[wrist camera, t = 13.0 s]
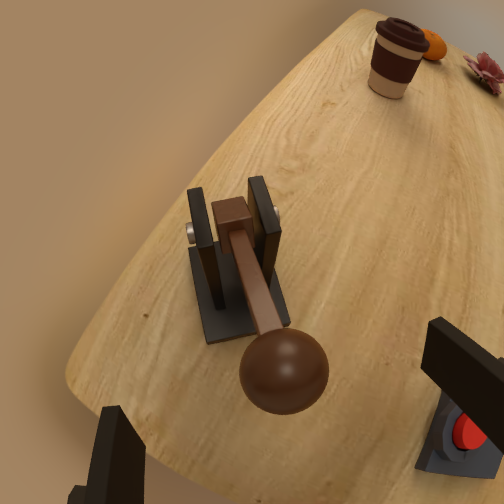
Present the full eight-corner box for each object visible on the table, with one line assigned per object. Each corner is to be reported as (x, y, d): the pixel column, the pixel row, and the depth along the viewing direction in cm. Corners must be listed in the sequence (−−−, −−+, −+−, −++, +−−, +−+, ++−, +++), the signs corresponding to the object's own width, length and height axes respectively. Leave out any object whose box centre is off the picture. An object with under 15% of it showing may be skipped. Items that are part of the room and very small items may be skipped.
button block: (407, 466, 22) (426, 472, 19) (438, 379, 26) (459, 375, 23) (483, 477, 20) (504, 480, 16) (506, 402, 24) (528, 398, 21)
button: (446, 445, 20) (457, 446, 18) (459, 407, 22) (470, 406, 20) (472, 450, 19) (483, 451, 18) (483, 414, 21) (494, 413, 19)
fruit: (408, 54, 59) (416, 30, 52) (406, 42, 64) (413, 20, 57) (443, 70, 58) (453, 47, 51) (438, 56, 62) (446, 35, 55)
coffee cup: (353, 86, 48) (372, 17, 35) (369, 70, 52) (386, 10, 39) (402, 110, 46) (429, 43, 33) (412, 92, 50) (435, 33, 36)
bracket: (289, 325, 29) (322, 268, 17) (207, 344, 28) (178, 301, 16) (262, 237, 34) (272, 143, 21) (189, 252, 33) (161, 163, 20)
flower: (469, 75, 53) (489, 52, 45) (454, 59, 62) (470, 38, 53) (502, 109, 56) (521, 88, 47) (485, 88, 64) (502, 69, 56)
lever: (335, 411, 12) (350, 374, 9) (254, 435, 11) (246, 405, 9) (256, 229, 23) (252, 185, 20) (207, 239, 22) (199, 196, 20)
